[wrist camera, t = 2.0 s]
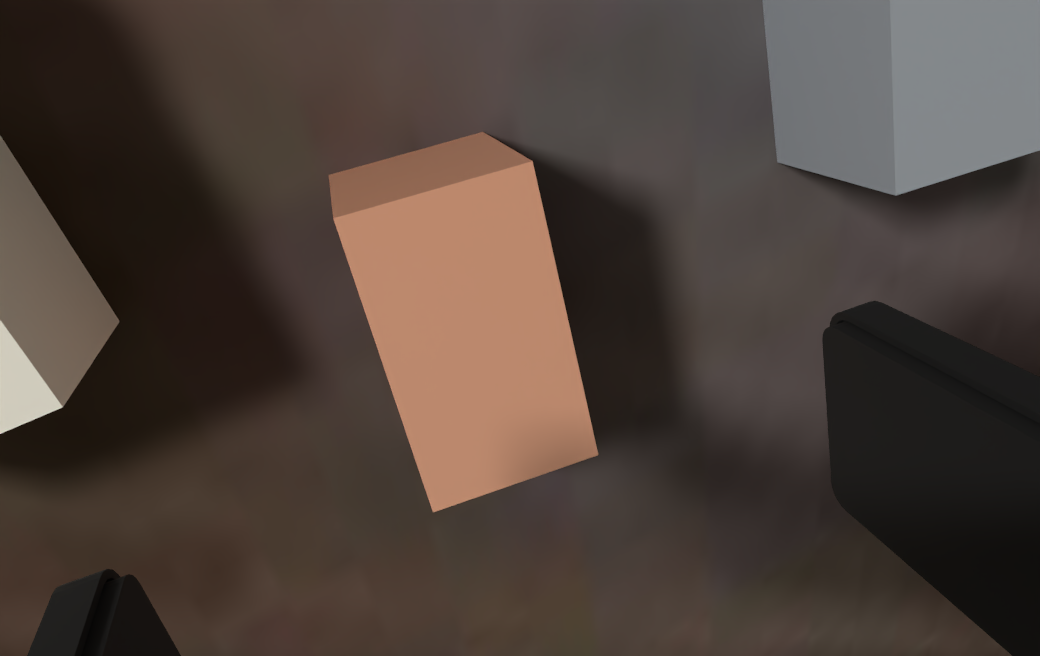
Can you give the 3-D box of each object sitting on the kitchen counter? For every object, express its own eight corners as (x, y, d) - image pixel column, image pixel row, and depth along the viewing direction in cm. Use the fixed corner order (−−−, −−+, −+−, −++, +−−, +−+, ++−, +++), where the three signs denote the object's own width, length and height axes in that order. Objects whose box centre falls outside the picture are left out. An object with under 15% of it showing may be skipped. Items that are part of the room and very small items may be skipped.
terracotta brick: (540, 369, 23) (598, 455, 18) (408, 413, 22) (433, 512, 17) (482, 131, 20) (532, 161, 15) (328, 174, 19) (333, 218, 15)
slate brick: (898, 124, 23) (1045, 148, 18) (775, 161, 22) (895, 195, 18) (890, -148, 20) (1063, -201, 15) (749, -113, 19) (885, -157, 15)
